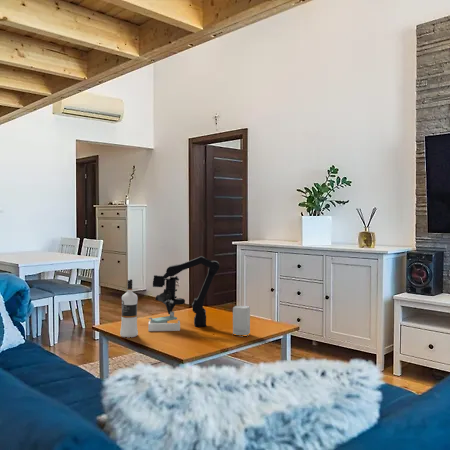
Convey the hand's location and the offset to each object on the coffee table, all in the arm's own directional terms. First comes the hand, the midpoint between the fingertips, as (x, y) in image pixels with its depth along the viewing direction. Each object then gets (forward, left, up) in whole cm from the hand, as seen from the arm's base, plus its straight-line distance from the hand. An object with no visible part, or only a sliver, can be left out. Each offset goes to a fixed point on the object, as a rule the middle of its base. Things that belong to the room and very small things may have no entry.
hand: (169, 314), depth 273 cm
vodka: (+22, +22, -7) cm, 32 cm away
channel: (+3, +9, -7) cm, 12 cm away
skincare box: (-38, +25, -7) cm, 46 cm away
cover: (+4, +5, -2) cm, 6 cm away
